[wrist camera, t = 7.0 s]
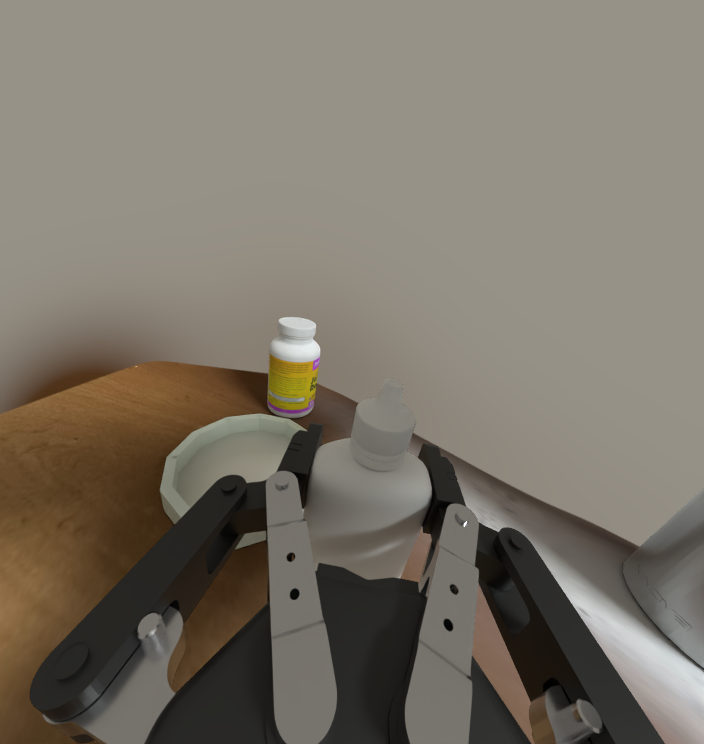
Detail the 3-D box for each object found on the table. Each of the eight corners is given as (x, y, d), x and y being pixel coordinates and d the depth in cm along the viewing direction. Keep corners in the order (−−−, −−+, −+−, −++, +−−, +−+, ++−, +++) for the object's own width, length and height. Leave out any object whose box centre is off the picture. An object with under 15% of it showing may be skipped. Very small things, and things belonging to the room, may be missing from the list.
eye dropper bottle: (331, 507, 18) (360, 346, 13) (406, 562, 16) (480, 390, 10) (285, 562, 15) (297, 373, 9) (371, 643, 12) (454, 449, 7)
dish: (328, 443, 33) (331, 427, 32) (297, 563, 20) (299, 544, 19) (220, 421, 33) (219, 405, 32) (123, 527, 21) (116, 506, 20)
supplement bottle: (313, 421, 36) (324, 334, 31) (263, 419, 35) (266, 327, 30) (313, 396, 42) (322, 318, 37) (270, 393, 41) (273, 312, 35)
